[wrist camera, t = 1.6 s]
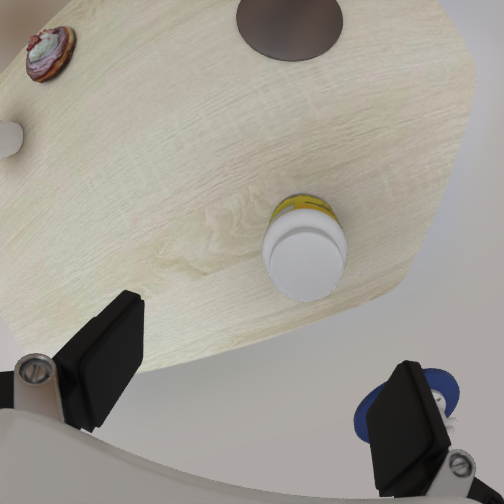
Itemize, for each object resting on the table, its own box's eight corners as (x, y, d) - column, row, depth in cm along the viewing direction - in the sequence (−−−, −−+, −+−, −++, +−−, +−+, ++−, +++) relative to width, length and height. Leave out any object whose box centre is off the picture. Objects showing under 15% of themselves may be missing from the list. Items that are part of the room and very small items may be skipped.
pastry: (75, 17, 23) (50, 7, 19) (79, 64, 26) (51, 57, 21) (33, 48, 25) (7, 43, 20) (36, 93, 27) (9, 92, 22)
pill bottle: (348, 227, 28) (375, 274, 18) (300, 266, 30) (300, 329, 20) (305, 178, 27) (312, 198, 17) (257, 221, 29) (235, 264, 19)
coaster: (347, -11, 20) (347, -13, 19) (334, 71, 23) (335, 70, 23) (247, -26, 20) (246, -28, 20) (228, 53, 24) (227, 52, 24)
